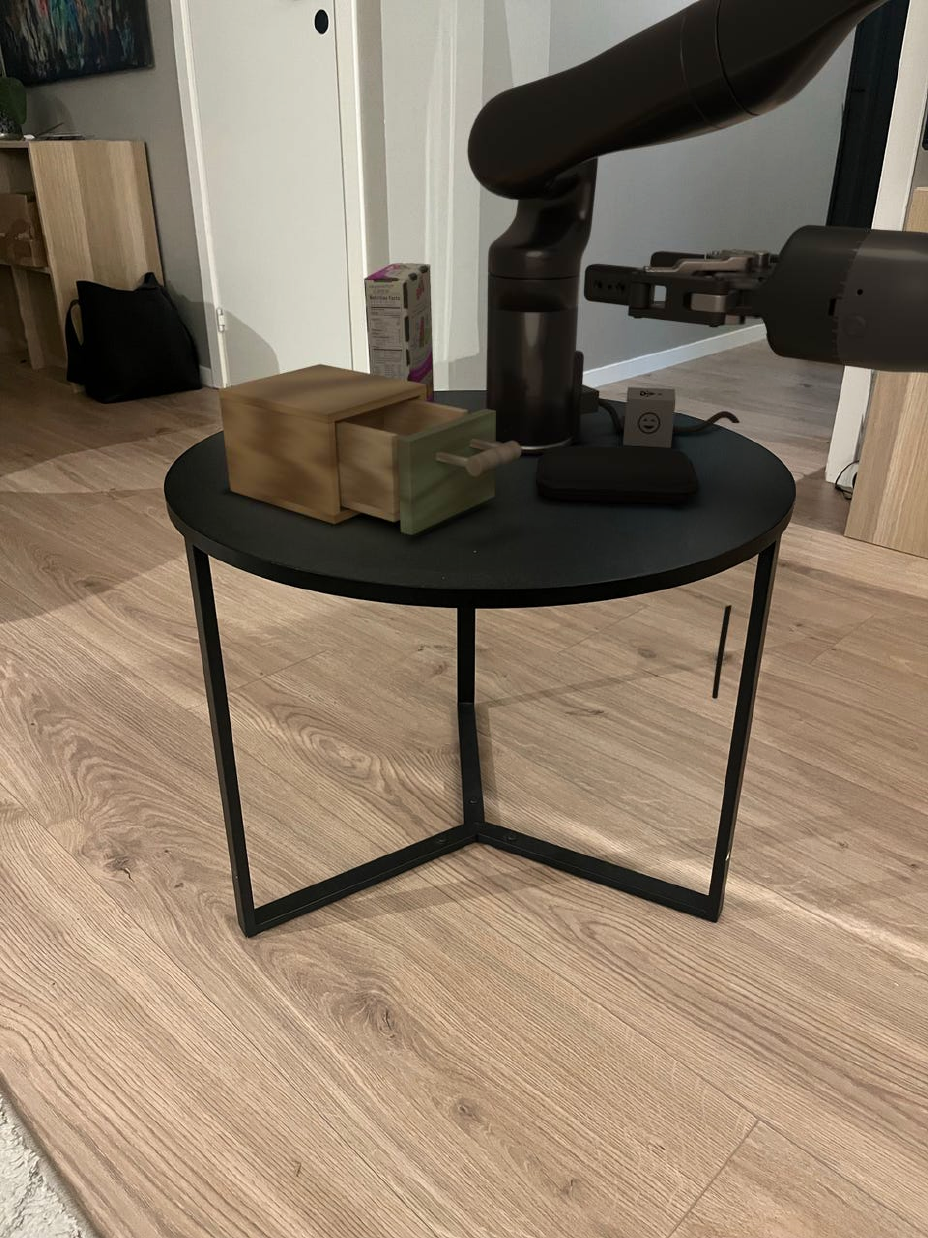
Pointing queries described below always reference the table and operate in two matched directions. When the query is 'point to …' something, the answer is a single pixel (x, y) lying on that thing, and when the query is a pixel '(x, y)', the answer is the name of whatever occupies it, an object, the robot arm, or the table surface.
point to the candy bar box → (401, 324)
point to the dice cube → (649, 417)
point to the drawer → (418, 461)
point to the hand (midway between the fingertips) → (620, 274)
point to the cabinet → (299, 433)
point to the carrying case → (617, 474)
